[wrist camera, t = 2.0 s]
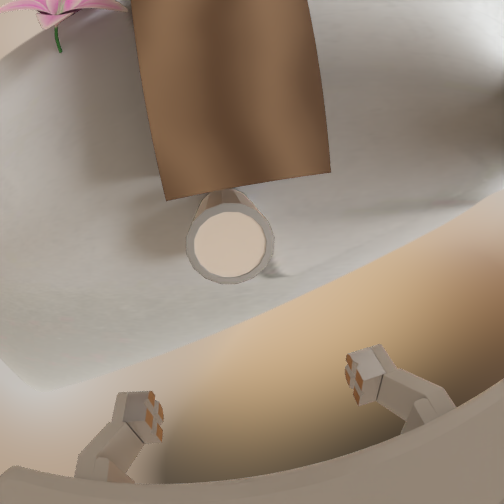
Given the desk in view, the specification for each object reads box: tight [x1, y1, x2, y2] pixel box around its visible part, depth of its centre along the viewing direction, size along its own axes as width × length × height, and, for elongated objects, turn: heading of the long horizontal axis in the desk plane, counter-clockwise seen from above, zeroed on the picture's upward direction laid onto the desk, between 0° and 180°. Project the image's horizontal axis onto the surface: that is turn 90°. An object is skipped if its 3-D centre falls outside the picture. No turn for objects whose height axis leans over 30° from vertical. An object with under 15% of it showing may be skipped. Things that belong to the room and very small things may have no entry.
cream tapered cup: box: [186, 189, 274, 284], centre depth 26 cm, size 7×7×7 cm
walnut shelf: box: [131, 0, 331, 201], centre depth 19 cm, size 11×18×9 cm, turn 8°
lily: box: [0, 0, 128, 53], centre depth 15 cm, size 12×12×10 cm
